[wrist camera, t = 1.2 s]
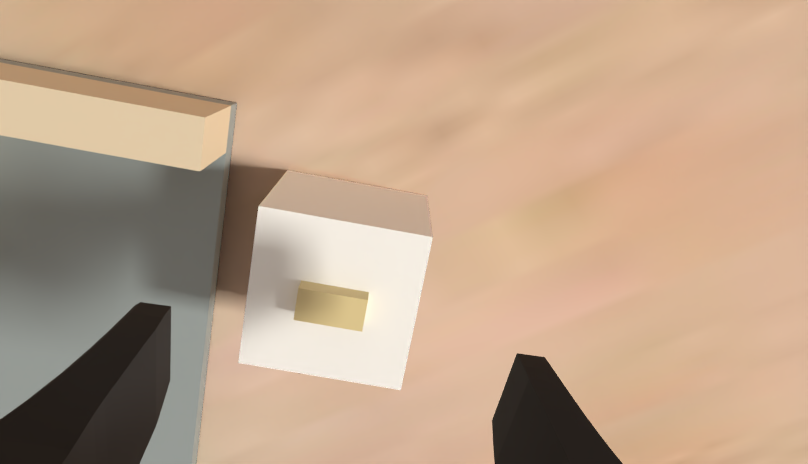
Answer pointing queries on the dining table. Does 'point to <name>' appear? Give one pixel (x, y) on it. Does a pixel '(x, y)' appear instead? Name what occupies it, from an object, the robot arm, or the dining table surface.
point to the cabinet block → (336, 279)
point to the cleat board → (109, 229)
